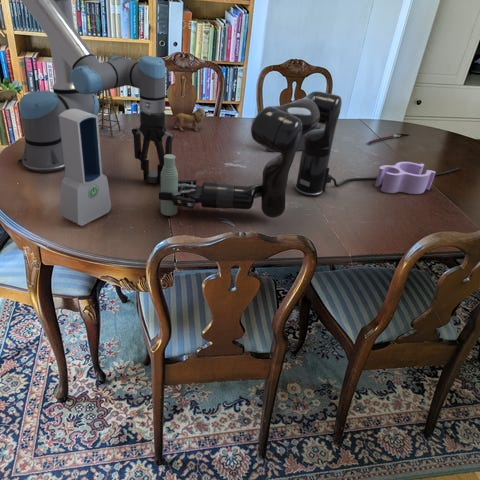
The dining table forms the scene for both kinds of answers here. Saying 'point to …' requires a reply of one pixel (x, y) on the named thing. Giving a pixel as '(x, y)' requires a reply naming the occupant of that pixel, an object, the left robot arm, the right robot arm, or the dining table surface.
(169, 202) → the bottle
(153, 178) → the cap
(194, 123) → the lion figurine
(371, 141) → the sword
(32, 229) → the dining table surface
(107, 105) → the miniature windmill
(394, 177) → the clip
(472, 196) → the dining table surface
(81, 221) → the electronic device
